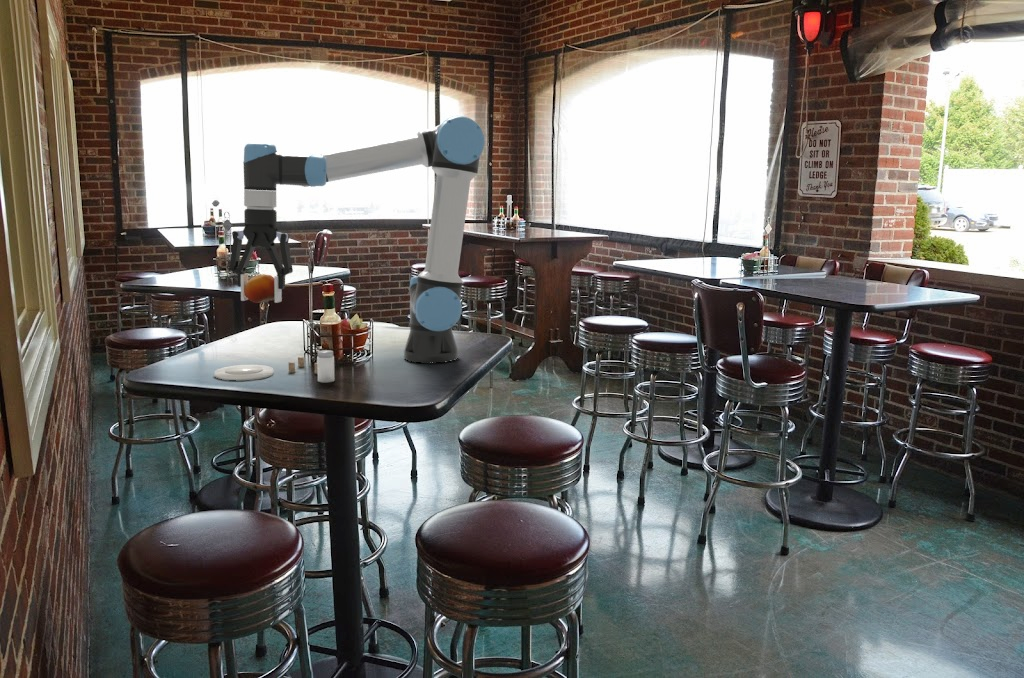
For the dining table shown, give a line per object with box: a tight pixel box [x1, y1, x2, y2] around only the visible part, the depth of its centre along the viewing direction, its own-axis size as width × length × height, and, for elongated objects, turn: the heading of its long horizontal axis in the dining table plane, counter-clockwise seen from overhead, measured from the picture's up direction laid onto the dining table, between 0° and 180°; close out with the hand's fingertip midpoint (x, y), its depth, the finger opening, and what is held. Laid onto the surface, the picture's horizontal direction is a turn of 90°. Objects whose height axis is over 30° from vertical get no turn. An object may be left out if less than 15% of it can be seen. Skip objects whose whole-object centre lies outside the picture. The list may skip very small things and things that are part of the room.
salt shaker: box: [316, 349, 335, 383], centre depth 197 cm, size 4×4×7 cm
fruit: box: [245, 273, 275, 304], centre depth 202 cm, size 8×8×8 cm
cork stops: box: [288, 356, 318, 375], centre depth 209 cm, size 8×8×2 cm
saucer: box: [214, 364, 274, 382], centre depth 203 cm, size 14×14×1 cm
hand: (261, 300), depth 202 cm, fingers closed on fruit, 8 cm apart
